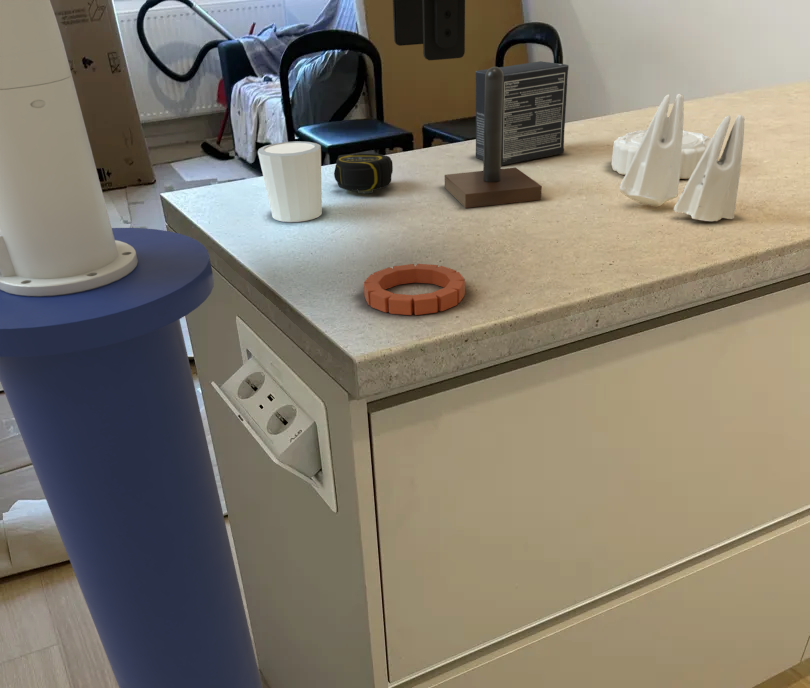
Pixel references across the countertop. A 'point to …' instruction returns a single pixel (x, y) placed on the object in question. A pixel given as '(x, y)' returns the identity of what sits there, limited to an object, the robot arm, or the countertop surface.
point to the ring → (414, 303)
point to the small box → (527, 111)
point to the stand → (492, 161)
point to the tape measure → (363, 172)
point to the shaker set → (661, 160)
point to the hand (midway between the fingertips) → (427, 50)
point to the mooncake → (630, 142)
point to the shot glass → (292, 180)
